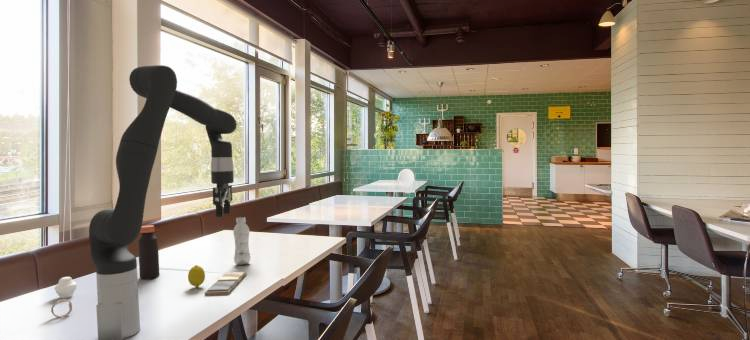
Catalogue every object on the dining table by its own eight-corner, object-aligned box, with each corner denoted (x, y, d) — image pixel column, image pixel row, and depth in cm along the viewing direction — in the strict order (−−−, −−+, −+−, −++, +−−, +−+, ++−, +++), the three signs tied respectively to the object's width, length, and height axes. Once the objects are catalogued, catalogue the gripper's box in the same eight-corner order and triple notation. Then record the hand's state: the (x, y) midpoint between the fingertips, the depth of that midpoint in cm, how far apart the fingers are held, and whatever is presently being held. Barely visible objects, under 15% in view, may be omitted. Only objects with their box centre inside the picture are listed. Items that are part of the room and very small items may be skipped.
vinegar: (135, 279, 160) (132, 227, 159) (149, 274, 167) (146, 224, 166) (150, 280, 158) (147, 228, 157) (163, 274, 165) (161, 224, 164)
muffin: (51, 300, 138) (50, 280, 138) (60, 294, 144) (58, 274, 144) (73, 298, 140) (71, 278, 139) (80, 292, 146) (79, 273, 145)
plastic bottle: (233, 263, 179) (231, 217, 178) (249, 261, 182) (247, 216, 181) (235, 267, 173) (233, 219, 172) (251, 265, 176) (250, 218, 175)
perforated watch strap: (72, 315, 125) (71, 298, 125) (53, 320, 122) (52, 303, 121) (70, 313, 127) (69, 296, 127) (51, 317, 123) (49, 301, 123)
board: (228, 294, 140) (228, 290, 140) (204, 295, 140) (204, 291, 139) (246, 275, 162) (246, 271, 162) (225, 275, 162) (225, 271, 161)
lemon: (199, 290, 145) (198, 267, 145) (185, 289, 146) (184, 267, 146) (208, 285, 150) (207, 263, 150) (195, 284, 152) (194, 262, 151)
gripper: (226, 170, 142) (228, 217, 143) (238, 169, 157) (239, 212, 157) (204, 170, 142) (205, 218, 142) (218, 169, 156) (219, 212, 157)
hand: (223, 215), depth 150 cm, fingers open, 8 cm apart
